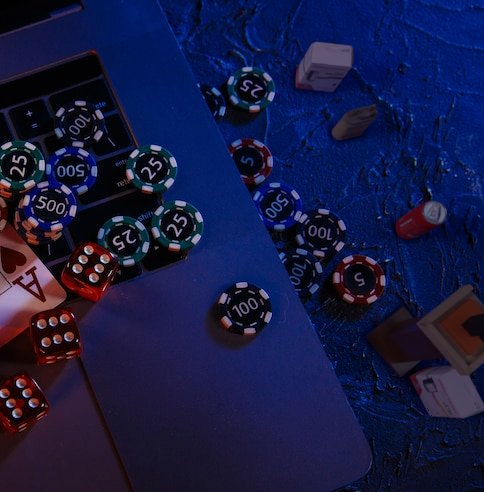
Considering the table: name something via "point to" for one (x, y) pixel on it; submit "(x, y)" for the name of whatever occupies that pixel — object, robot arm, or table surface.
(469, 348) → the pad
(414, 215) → the beverage can
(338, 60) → the ink box
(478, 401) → the ink box
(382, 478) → the table surface
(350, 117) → the tan tapered block
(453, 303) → the dock pad
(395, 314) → the stand
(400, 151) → the table surface
